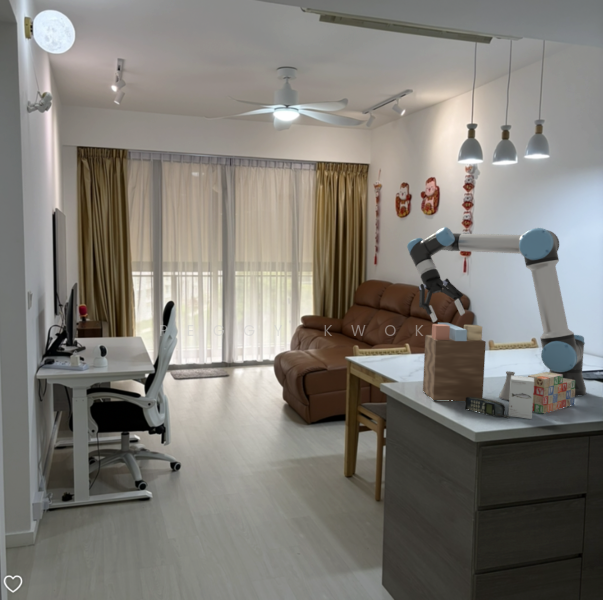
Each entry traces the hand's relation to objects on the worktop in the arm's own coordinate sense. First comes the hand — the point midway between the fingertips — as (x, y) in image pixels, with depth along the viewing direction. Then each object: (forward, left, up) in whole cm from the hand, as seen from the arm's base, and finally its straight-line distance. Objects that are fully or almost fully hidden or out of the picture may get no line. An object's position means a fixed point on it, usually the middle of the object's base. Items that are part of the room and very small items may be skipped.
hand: (449, 317), depth 229 cm
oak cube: (-19, +14, -5) cm, 24 cm away
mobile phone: (-33, +29, -28) cm, 52 cm away
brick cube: (-11, +23, -5) cm, 26 cm away
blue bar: (-10, +15, -5) cm, 19 cm away
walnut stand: (-13, +18, -27) cm, 35 cm away
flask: (-28, +3, -28) cm, 40 cm away
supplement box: (-41, +22, -28) cm, 54 cm away
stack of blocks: (-44, +3, -28) cm, 52 cm away
